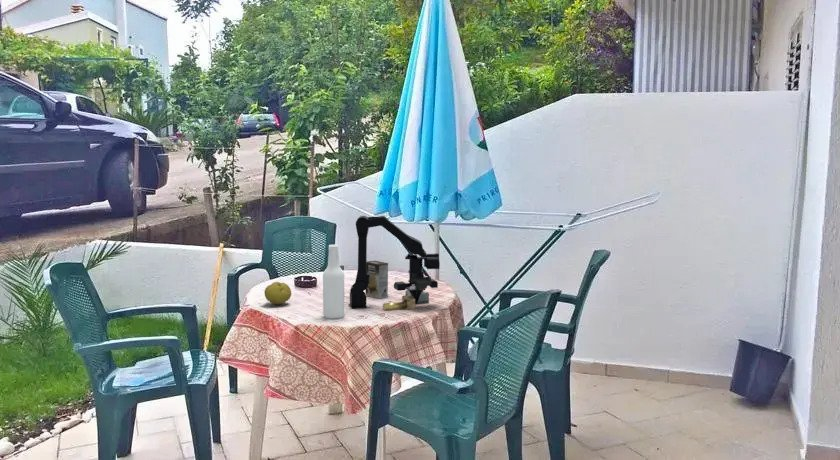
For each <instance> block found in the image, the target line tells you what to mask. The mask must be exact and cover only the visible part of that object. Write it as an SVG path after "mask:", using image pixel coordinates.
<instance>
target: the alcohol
mask: <svg viewBox="0 0 840 460" xmlns="http://www.w3.org/2000/svg"><path fill="white" fill-rule="evenodd" d="M322 304H323V305H322V309H323V310H322V315H323V317H324V318H325V319H329V320H337V319H342V318H344V316H345V313H346V312H345V307H346V306H345V305H346V304H345V273H344V271H343V269H342V268H341V265H340V260H339V245H338V244H334V243H333V244H329V245H328V257H327V266H326V268H325V270H324V271H323V274H322Z"/></svg>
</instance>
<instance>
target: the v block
mask: <svg viewBox="0 0 840 460" xmlns="http://www.w3.org/2000/svg"><path fill="white" fill-rule="evenodd" d="M405 295H409V296H411V297H412V295H411V293H410V291H409V290H407V289H406V290H405ZM429 303H430V293H429V292H428V291H427V292H424V291H423V292H422V293H421V295H420V297H419V300H418V303H417V304H416V305H420V304H429Z"/></svg>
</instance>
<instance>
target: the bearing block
mask: <svg viewBox="0 0 840 460" xmlns="http://www.w3.org/2000/svg"><path fill="white" fill-rule="evenodd" d="M406 301H407V310H408V311H412V310H416V304H415V299H414V298H412V297H411V296H409V295H406V294H405V295H401V302H406Z"/></svg>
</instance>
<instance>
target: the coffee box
mask: <svg viewBox="0 0 840 460" xmlns="http://www.w3.org/2000/svg"><path fill="white" fill-rule="evenodd" d="M366 268H367V273H368V272H371V273H370V284H368V287H367V289H366V290H365V295H366V297H369V298H373V299H378V300H379V299H380V300H381V299H383V298H387V297H388V296H389V295H388V293H389V289H388V288H389V286H388V285H389V262H384V261H381V260H369V261H367V267H366Z"/></svg>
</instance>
